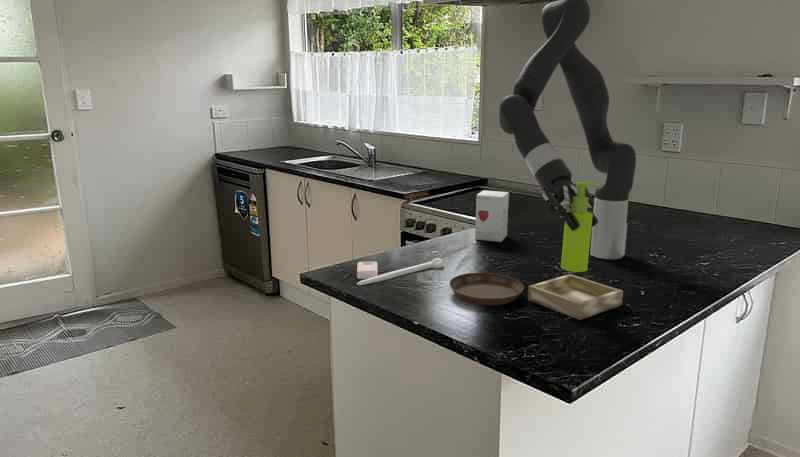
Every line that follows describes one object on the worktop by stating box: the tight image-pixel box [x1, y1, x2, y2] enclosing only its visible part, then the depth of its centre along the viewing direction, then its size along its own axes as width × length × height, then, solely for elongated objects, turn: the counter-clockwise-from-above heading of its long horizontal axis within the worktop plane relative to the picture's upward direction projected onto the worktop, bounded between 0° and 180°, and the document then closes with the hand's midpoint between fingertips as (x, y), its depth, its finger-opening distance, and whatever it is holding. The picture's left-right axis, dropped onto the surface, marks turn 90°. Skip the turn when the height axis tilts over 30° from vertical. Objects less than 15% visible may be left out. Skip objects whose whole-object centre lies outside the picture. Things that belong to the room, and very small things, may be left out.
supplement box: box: [474, 189, 510, 243], centre depth 195 cm, size 9×9×15 cm
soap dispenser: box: [560, 181, 602, 273], centre depth 135 cm, size 6×7×20 cm
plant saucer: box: [448, 272, 524, 307], centre depth 144 cm, size 18×18×3 cm
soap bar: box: [356, 261, 378, 280], centre depth 161 cm, size 5×9×2 cm, turn 3°
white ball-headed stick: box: [356, 257, 445, 286], centre depth 159 cm, size 28×4×3 cm, turn 128°
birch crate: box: [527, 273, 624, 321], centre depth 139 cm, size 15×15×4 cm
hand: (585, 226), depth 133 cm, fingers closed on soap dispenser, 6 cm apart
